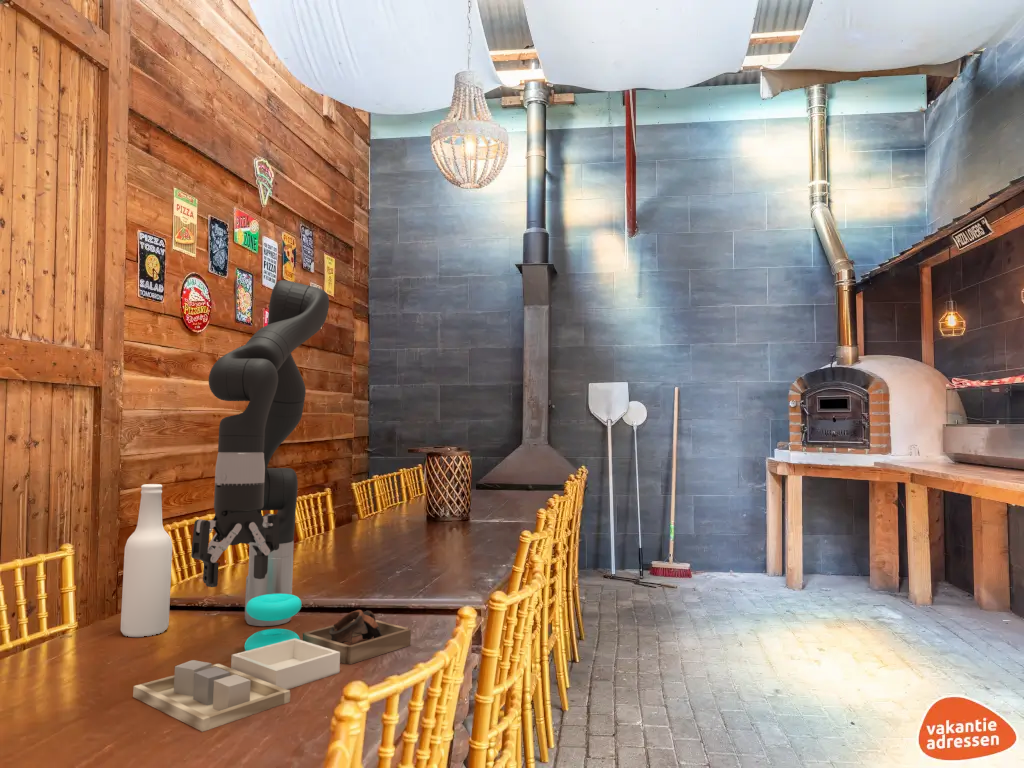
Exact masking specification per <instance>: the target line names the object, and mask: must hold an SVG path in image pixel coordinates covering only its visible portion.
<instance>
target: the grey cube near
mask: <svg viewBox="0 0 1024 768" xmlns="http://www.w3.org/2000/svg"><path fill="white" fill-rule="evenodd" d="M250 682H251V680H249V679H246V678H244V677H241V676H238V675H236V674H235V675H232V676H228V677H225V678H221V679H218V680H214V691H213V709H216V710H218V711H221V710H224V709H227V708H230V707H233V706H236V705H239V704H243V703H246V702H249V701H250Z"/></svg>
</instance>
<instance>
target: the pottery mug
mask: <svg viewBox="0 0 1024 768" xmlns="http://www.w3.org/2000/svg"><path fill="white" fill-rule="evenodd" d="M353 620H355V621H353ZM376 620H377V619H376V616H375V614H374V613H373V612H372V611H371V610H366V611H365V610H364V611H363V610H362V609H357V610H354V611H351V612H348V613H347V614H345V615H344V616H343V617H341V618H340V619H339V620H337V621H336V622H334V624H333V625H334V627H335V630H334V628H331V629H330V631H329V634H330V635H331V636H332V638H331V640H332V641H336V642H339V643H342V644H346V643H349V644H351V645H353V637H352V634H353V632H355V633H357V634H361V637H362V640H370V639H374V638H377V637H381V636H382V634H381V631H380V628H379V627H378V624H377V623H376ZM352 621H353V622H352ZM350 622H352V623H351V624H350V625H348V626H346V627H345V628H343V629H342V627H344V626H345V625H347V624H348V623H350Z"/></svg>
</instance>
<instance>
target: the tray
mask: <svg viewBox="0 0 1024 768" xmlns="http://www.w3.org/2000/svg"><path fill="white" fill-rule="evenodd" d="M213 667H218V668H220V669H223V670H225V671H228V672H230V676H232V675H235V674H236V675H238V676H241V677H244V678H246V679H249V680H251V682H250V701H249V702H246V703H243V704H239V705H236V706H233V707H230V708H227V709H224V710H221V711H218V710H216V709H213V704H211V705H208V706H207V705H205V704H202V703H200V702H198V701H196V700H194V699H193V696H188V695H183V694H178V693H174V675H175V674H174V675H170V676H166V677H162V678H159V679H156V680H151V681H149V682H143V683H139V684H136V685H133V688H132V689H133V690H132V692H133V693H132V697H133V698H134V699H136V700H137V701H140V702H142V703H144V704H146V705H148V706H150V707H152V708H154V709H156V710H158V711H160V712H162V713H164V714H166V715H168V716H170V717H172V718H174V719H176V720H178V721H179V722H183V723H184V724H186V725H188V726H189V727H192V728H194V729H196V730H198V731H200V732H202V733H203V732H206V731H209V730H212V729H215V728H217V727H221V726H224V725H226V724H229V723H233V722H235V721H238V720H241V719H244V718H247V717H250V716H252V715H253V716H254V715H257V714H259V713H262V712H265V711H268V710H270V709H273V708H276V707H279V706H282V705H285V704H288V703H290V702H291V690H290V689H288V690H287V689H284V688H281V687H279V686H276V685H274V684H271V683H268V682H266V681H263V680H260V679H258V678H255V677H253V676H250V675H247V674H245V673H242V672H239V671H237V670H234V669H232V668H231V667H228V666H226V665H223V664H222V663H215V664H212V665H211V668H213Z"/></svg>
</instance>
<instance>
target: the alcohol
mask: <svg viewBox="0 0 1024 768" xmlns="http://www.w3.org/2000/svg"><path fill="white" fill-rule="evenodd" d="M140 488H141V491H140V494H141V496H140V503H139V509H138V510H139V511H138V519H137V523H136V528H135V530H134V531H133V532H132V533H131V535H130V536H129V537H128V538H127V540H126V543H125V546H124V552H123V553H124V557H123V573H122V575H123V576H122V593H121V595H122V596H121V597H122V598H121V610H120V611H121V613H120V632H121V633H122V635H123V636H125V637H127V636H128V637H127V638H145V637H144V636H147V637H152V635H153V636H157V635H156V634H158V635H160V633H161V634H163V633H165V632H166V631H165V630H168V628H169V624H170V608H171V607H170V602H171V583H172V581H171V580H172V563H173V562H172V561H173V560H172V558H173V542H172V537H171V536H170V534H169V533H168V532H167V531H166V530H165V528H164V525H163V505H162V504H163V503H162V502H163V498H162V493H163V490H162V489H163V485H162V484H160V483H159V484H158V483H148V484H146V483H144V484H142V485H140ZM164 631H165V632H164Z"/></svg>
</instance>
